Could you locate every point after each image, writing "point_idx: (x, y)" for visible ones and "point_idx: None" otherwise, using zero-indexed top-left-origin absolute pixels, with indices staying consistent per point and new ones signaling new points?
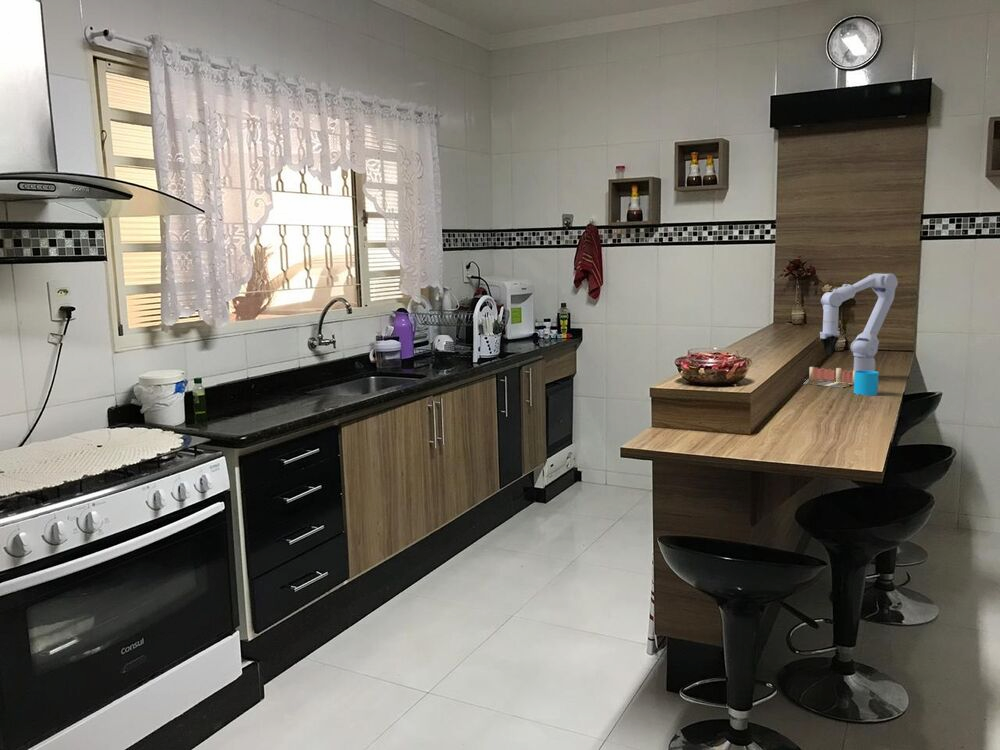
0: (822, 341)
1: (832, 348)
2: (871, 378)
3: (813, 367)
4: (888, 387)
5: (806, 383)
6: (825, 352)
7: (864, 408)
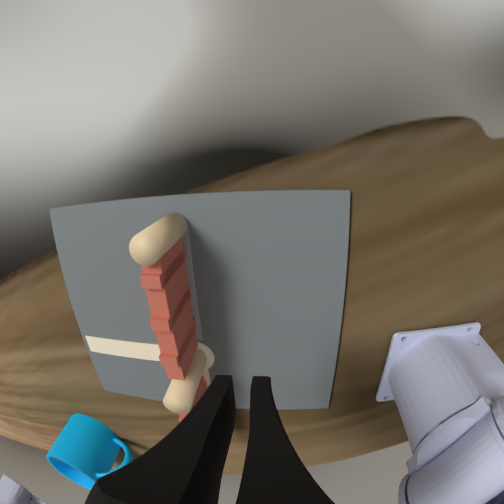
0: (122, 474)
1: (223, 464)
2: (71, 468)
3: (140, 264)
4: (234, 464)
5: (64, 262)
6: (207, 391)
7: (9, 421)
